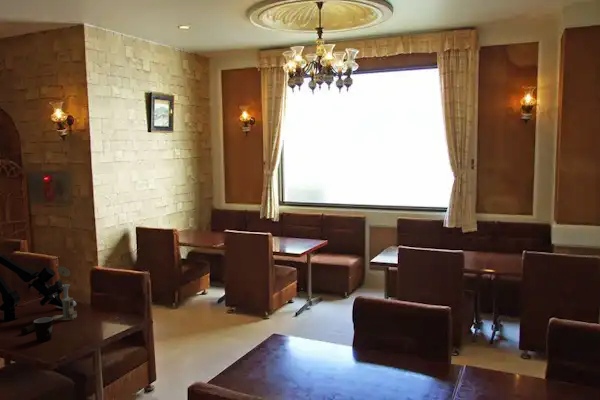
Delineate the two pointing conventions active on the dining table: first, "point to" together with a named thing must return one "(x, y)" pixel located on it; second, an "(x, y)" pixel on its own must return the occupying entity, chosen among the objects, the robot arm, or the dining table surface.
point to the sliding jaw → (64, 307)
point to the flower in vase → (66, 273)
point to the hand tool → (28, 329)
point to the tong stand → (67, 311)
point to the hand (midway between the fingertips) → (63, 306)
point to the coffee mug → (43, 328)
